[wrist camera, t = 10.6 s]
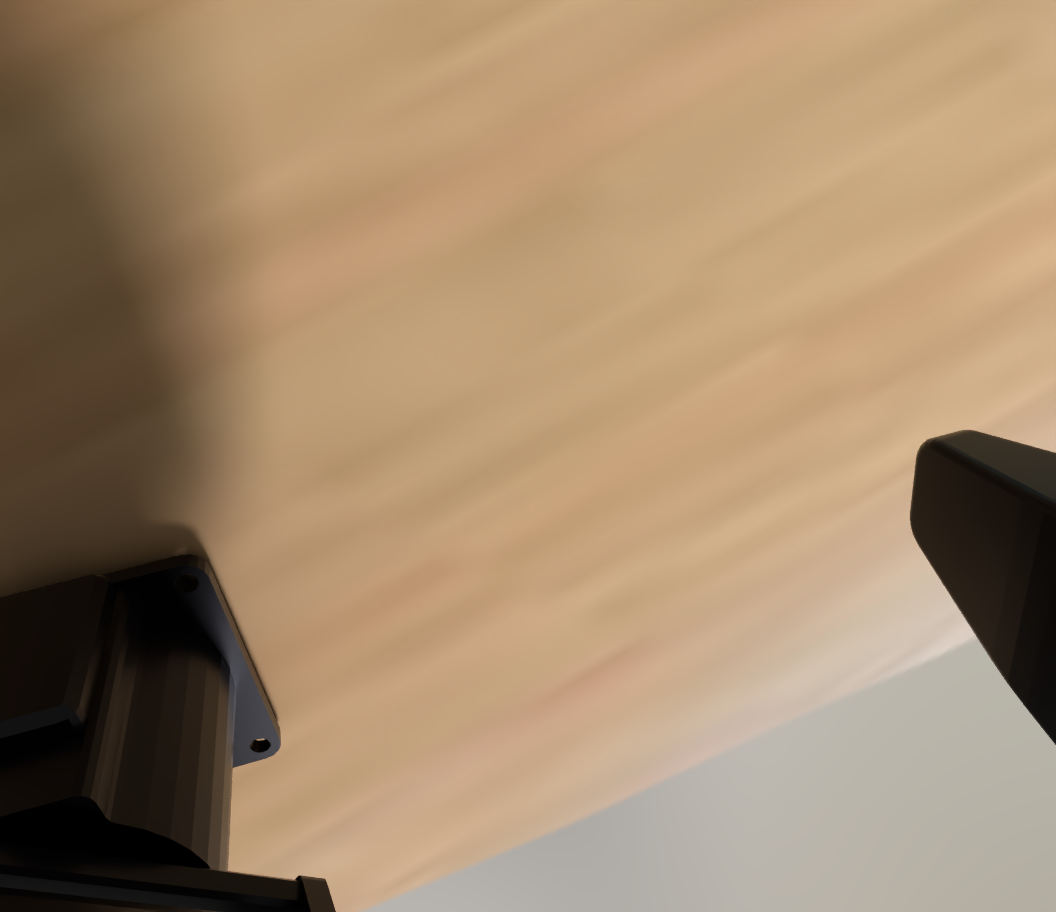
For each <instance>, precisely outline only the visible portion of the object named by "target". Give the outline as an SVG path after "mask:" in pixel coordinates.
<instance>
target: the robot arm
mask: <svg viewBox="0 0 1056 912" xmlns="http://www.w3.org/2000/svg"><path fill="white" fill-rule="evenodd" d="M910 522H911V528H912V532H913V535H914V537H915V540H916V542H917V543H918V545H919V547H920V548H921V550H922V552H923V553H924V555H925V556H926V558H927V559H928V561H929V563H930V564H931V566H932V567H933V569H934V570H935V572H936V574H937V575H938V577H939V578H940V580H941V581H942V583H943V585H944V586H945V588H946V589H947V591H948V592H949V594H950V596H951V597H952V599H953V600H954V602H955V603H956V605H957V607H958V608H959V610H960V611H961V613H962V614H963V616H964V618H965V619H966V621H967V622H968V624H969V625H970V627H971V628H972V630H973V632H974V633H975V635H976V636H977V638H978V639H979V641H980V643H981V644H982V646H983V647H984V649H985V650H986V652H987V654H988V655H989V657H990V658H991V660H992V661H993V663H994V664H995V666H996V667H997V669H998V670H999V671H1000V673H1001V674H1002V676H1003V677H1004V679H1005V680H1006V682H1007V683H1008V684H1009V686H1010V687H1011V688H1012V690H1013V691H1014V692H1015V694H1016V695H1017V696H1018V698H1019V699H1020V700H1021V701H1022V702H1023V704H1024V706H1025V707H1026V708H1027V709H1028V711H1029V712H1030V713H1031V714H1032V716H1033V717H1034V718H1035V719H1036V721H1037V722H1038V723H1039V724H1040V726H1041V727H1042V728H1043V730H1044V731H1045V732H1046V733H1047V735H1049V737H1050V738H1051V739H1052V741H1053V742H1054V743H1055V745H1056V453H1054V452H1050V451H1047V450H1043V449H1039V448H1036V447H1032V446H1029V445H1025V444H1021V443H1018V442H1014V441H1010V440H1007V439H1003V438H1000V437H996V436H992V435H989V434H985V433H981V432H978V431H973V430H962V431H957V432H954V433H950V434H946V435H942V436H938V437H935V438H931V439H928V440H927V441H925V442H924V443H923V444H922V445H921V446H920V448H919V450H918V452H917V457H916V465H915V473H914V482H913V491H912V500H911V509H910ZM182 574H190V575H193V576H195V577H196V578H197V579H195V580H193V581H183V580H181V579H179V578H178V576H180V575H182ZM261 738H264V739H265V740H261V741H257V740H256V739H261ZM280 746H281V736H280V727H279V725H278V723H277V721H276V718H275V716H274V714H273V711H272V709H271V707H270V704H269V702H268V700H267V697H266V695H265V693H264V690H263V688H262V686H261V683H260V681H259V679H258V676H257V674H256V672H255V669H254V667H253V665H252V663H251V660H250V658H249V656H248V653H247V651H246V649H245V646H244V644H243V642H242V639H241V637H240V635H239V632H238V630H237V628H236V625H235V623H234V621H233V618H232V616H231V614H230V611H229V609H228V607H227V604H226V602H225V600H224V598H223V595H222V593H221V591H220V588H219V586H218V584H217V581H216V579H215V577H214V574H213V572H212V570H211V567H210V566H209V564H208V563H207V562H206V560H204V559H202V558H201V557H199V556H195V555H190V554H188V555H179V556H175V557H171V558H168V559H164V560H160V561H156V562H152V563H148V564H144V565H140V566H136V567H132V568H128V569H124V570H120V571H116V572H112V573H108V574H104V575H89V576H85V577H81V578H77V579H73V580H70V581H66V582H62V583H58V584H54V585H50V586H46V587H42V588H38V589H34V590H30V591H26V592H22V593H18V594H14V595H10V596H6V597H2V598H0V912H336V911H335V908H334V904H333V901H332V898H331V895H330V891H329V888H328V885H327V882H326V880H325V879H322V878H315V877H307V876H298V877H297V878H296V879H295V880H291V879H284V878H276V877H269V876H261V875H253V874H246V873H238V872H231V871H228V856H229V835H230V813H231V791H232V770H233V767H237V766H241V765H244V764H248V763H251V762H255V761H258V760H262V759H265V758H268V757H270V756H272V755H274V754H275V753H276V752H277V751H278V750H279V748H280Z"/></svg>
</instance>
